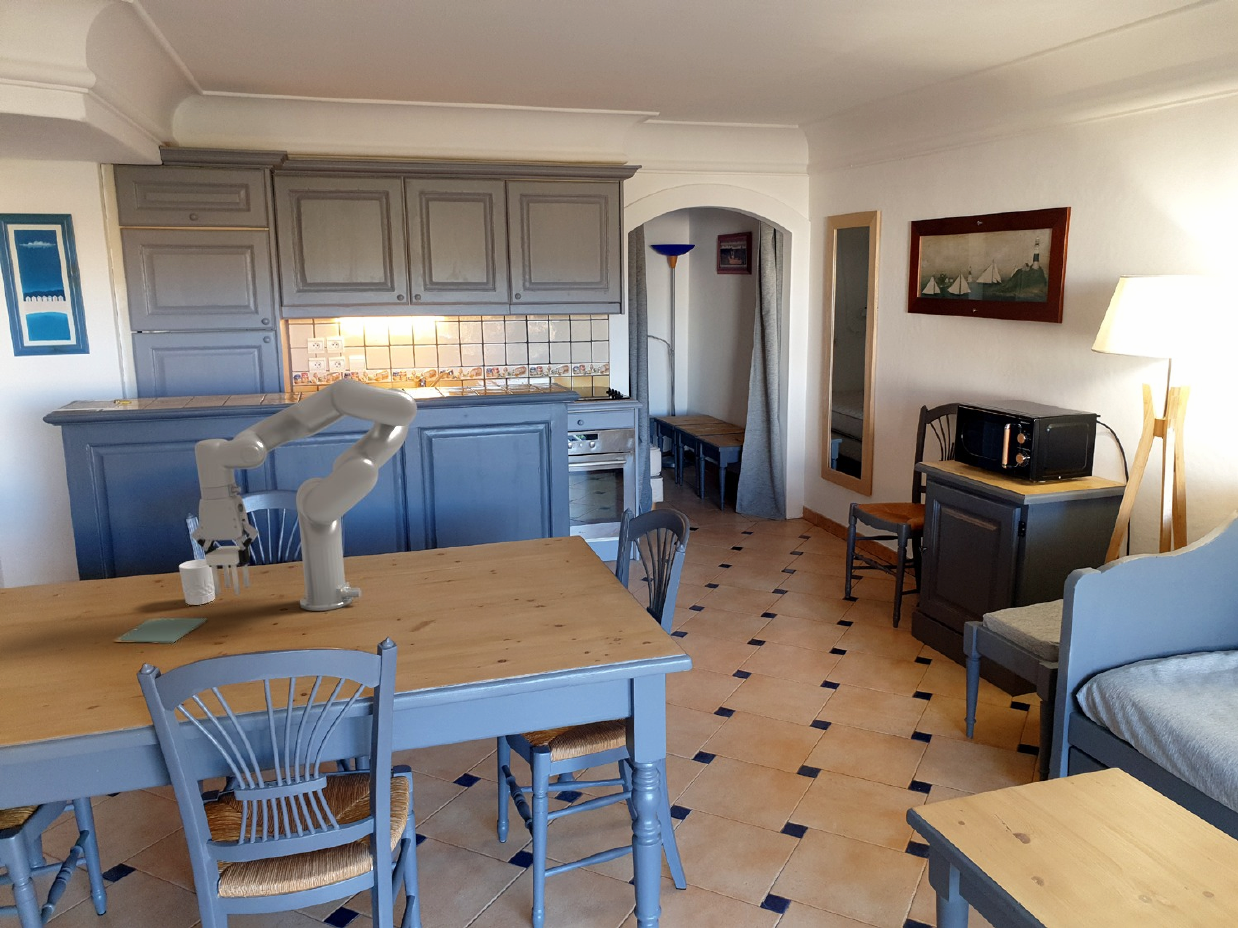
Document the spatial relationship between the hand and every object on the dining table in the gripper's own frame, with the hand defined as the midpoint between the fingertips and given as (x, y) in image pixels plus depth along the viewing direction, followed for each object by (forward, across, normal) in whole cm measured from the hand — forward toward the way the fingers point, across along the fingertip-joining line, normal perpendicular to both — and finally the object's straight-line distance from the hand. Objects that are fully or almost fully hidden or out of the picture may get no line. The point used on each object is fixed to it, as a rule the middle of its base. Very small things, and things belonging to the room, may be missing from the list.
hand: (229, 564), depth 213 cm
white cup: (+13, +15, -10) cm, 23 cm away
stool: (+7, 0, 0) cm, 7 cm away
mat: (+13, +13, +10) cm, 21 cm away
